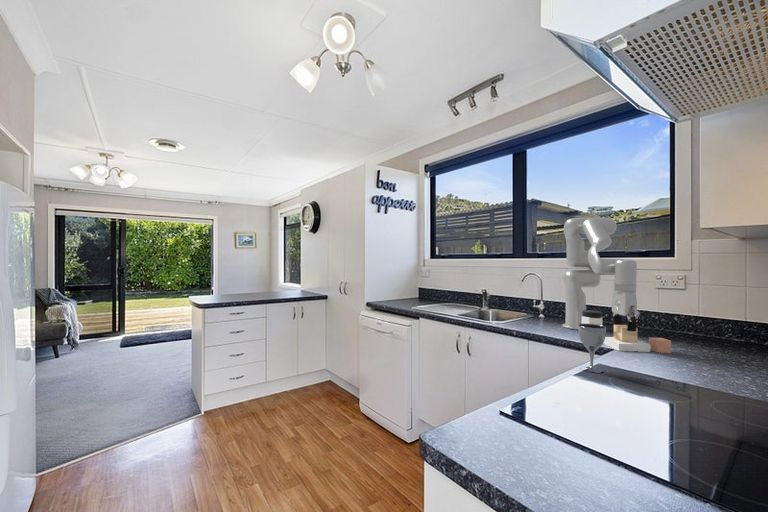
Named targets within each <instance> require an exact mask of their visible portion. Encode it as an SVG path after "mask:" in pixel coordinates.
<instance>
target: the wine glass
mask: <svg viewBox="0 0 768 512" xmlns="http://www.w3.org/2000/svg"><path fill="white" fill-rule="evenodd" d="M606 333H607V328H606V326H605V325H603V324H602V325H597V324H585V323H584V324H578V338H579V340H580V342H581V344H582V345H583V346H584V347H585V348H586V349H587V351H588V354H589V359H590V361H589V362H590V365H589V366H588V367H586V368H590V369H596V368H597V367H595V366H594V357H595V356H594V355H595V353H596V352H597V351H598V349H600V348H601V347H602V346H603V345H604V344H603V343H604V340H605V337H607V336H606Z"/></svg>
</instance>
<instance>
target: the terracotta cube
mask: <svg viewBox="0 0 768 512" xmlns="http://www.w3.org/2000/svg"><path fill="white" fill-rule="evenodd" d="M648 344H650V351H651V352H655V353H657V352H659V353H658V354H672V340H669V339H667V338H663V337H648ZM660 352H661V353H660Z"/></svg>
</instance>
